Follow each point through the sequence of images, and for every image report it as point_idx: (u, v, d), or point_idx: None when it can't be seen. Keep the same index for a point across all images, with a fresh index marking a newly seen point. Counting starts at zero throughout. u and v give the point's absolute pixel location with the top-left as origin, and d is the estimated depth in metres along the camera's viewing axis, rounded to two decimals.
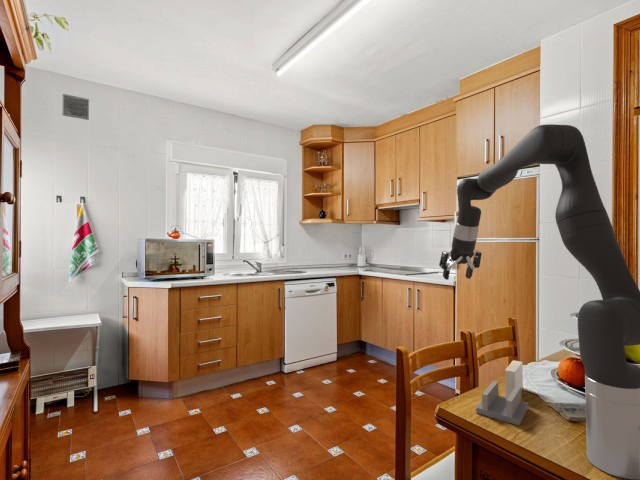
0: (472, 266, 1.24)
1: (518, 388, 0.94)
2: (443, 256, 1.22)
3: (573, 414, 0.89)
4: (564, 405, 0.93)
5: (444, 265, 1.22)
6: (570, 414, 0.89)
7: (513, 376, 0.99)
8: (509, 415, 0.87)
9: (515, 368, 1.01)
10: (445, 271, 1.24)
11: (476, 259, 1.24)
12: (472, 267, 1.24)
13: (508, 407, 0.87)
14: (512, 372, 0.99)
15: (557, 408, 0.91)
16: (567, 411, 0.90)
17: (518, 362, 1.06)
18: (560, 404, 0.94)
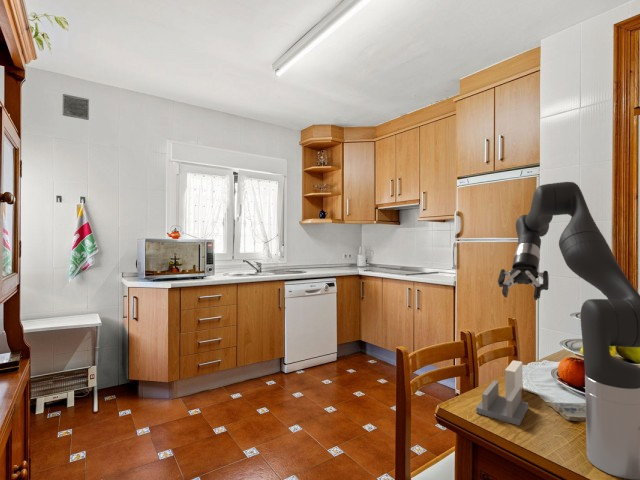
0: (537, 283, 1.11)
1: (518, 388, 0.94)
2: None
3: (573, 414, 0.89)
4: (564, 405, 0.93)
5: (500, 279, 1.18)
6: (570, 414, 0.89)
7: (513, 376, 0.99)
8: (509, 415, 0.87)
9: (515, 368, 1.01)
10: (502, 286, 1.16)
11: (543, 278, 1.11)
12: (537, 284, 1.10)
13: (508, 407, 0.87)
14: (512, 372, 0.99)
15: (557, 408, 0.91)
16: (567, 411, 0.90)
17: (518, 362, 1.06)
18: (560, 404, 0.94)
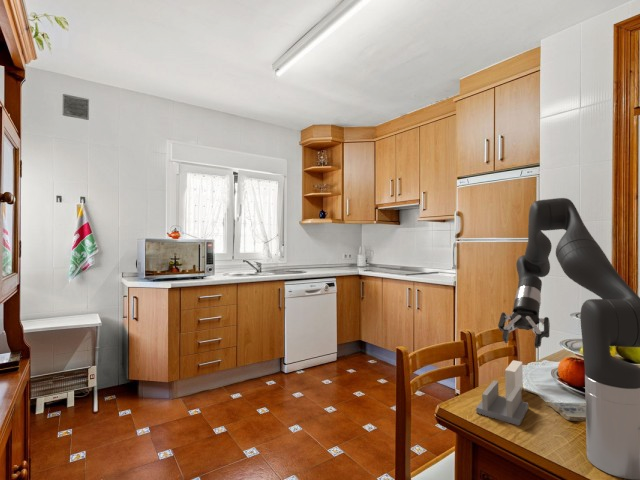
0: (537, 330, 1.10)
1: (518, 388, 0.94)
2: None
3: (573, 414, 0.89)
4: (563, 405, 0.93)
5: (500, 323, 1.17)
6: (570, 414, 0.89)
7: (513, 376, 0.99)
8: (509, 415, 0.87)
9: (515, 368, 1.01)
10: (503, 331, 1.15)
11: (544, 325, 1.10)
12: (538, 331, 1.09)
13: (508, 407, 0.87)
14: (512, 372, 0.99)
15: (557, 408, 0.91)
16: (567, 411, 0.90)
17: (518, 362, 1.06)
18: (559, 404, 0.94)
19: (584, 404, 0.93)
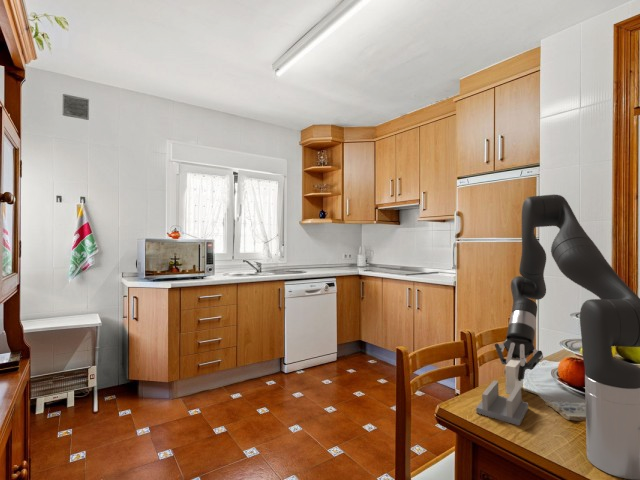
0: (522, 362, 1.04)
1: (518, 388, 0.94)
2: (496, 349, 1.11)
3: (573, 413, 0.89)
4: (563, 404, 0.94)
5: (501, 356, 1.08)
6: (570, 413, 0.89)
7: (514, 372, 0.99)
8: (509, 415, 0.87)
9: (515, 364, 1.02)
10: None
11: None
12: (521, 363, 1.04)
13: (508, 407, 0.87)
14: (512, 367, 1.00)
15: (557, 407, 0.91)
16: (566, 410, 0.90)
17: (518, 359, 1.06)
18: (559, 404, 0.94)
19: (583, 404, 0.93)
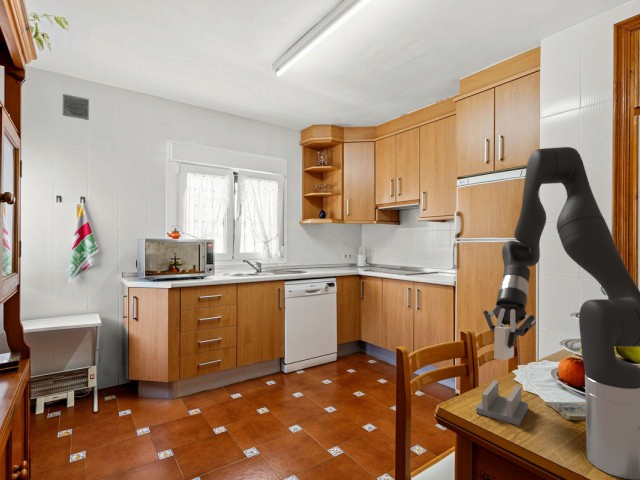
0: (513, 327, 0.95)
1: (518, 388, 0.94)
2: (485, 317, 1.02)
3: (572, 413, 0.89)
4: (562, 404, 0.94)
5: (489, 322, 0.99)
6: (569, 413, 0.89)
7: (503, 334, 0.91)
8: (509, 415, 0.87)
9: (506, 328, 0.93)
10: None
11: None
12: (511, 328, 0.95)
13: (508, 407, 0.87)
14: (502, 329, 0.91)
15: (557, 407, 0.91)
16: (566, 410, 0.90)
17: None
18: (558, 403, 0.94)
19: (583, 403, 0.93)
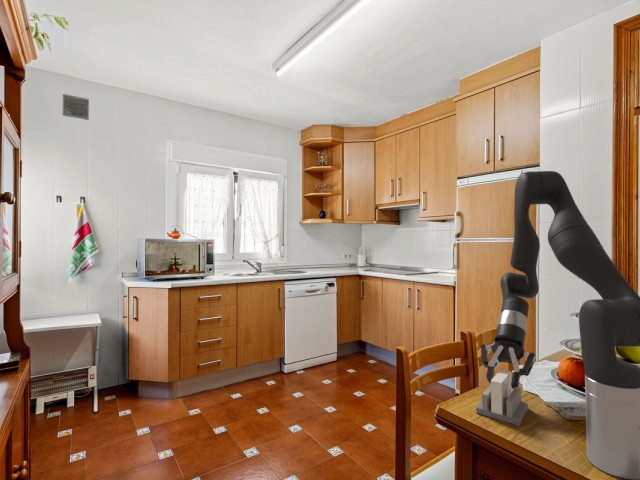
0: (516, 367, 0.93)
1: (518, 388, 0.94)
2: None
3: (572, 413, 0.89)
4: (562, 404, 0.94)
5: (483, 358, 0.98)
6: (569, 413, 0.89)
7: (500, 388, 0.88)
8: (509, 415, 0.87)
9: (502, 378, 0.90)
10: None
11: None
12: (515, 368, 0.92)
13: (508, 407, 0.87)
14: (498, 383, 0.88)
15: (556, 407, 0.91)
16: (566, 410, 0.90)
17: (506, 372, 0.95)
18: (558, 403, 0.94)
19: (582, 403, 0.94)
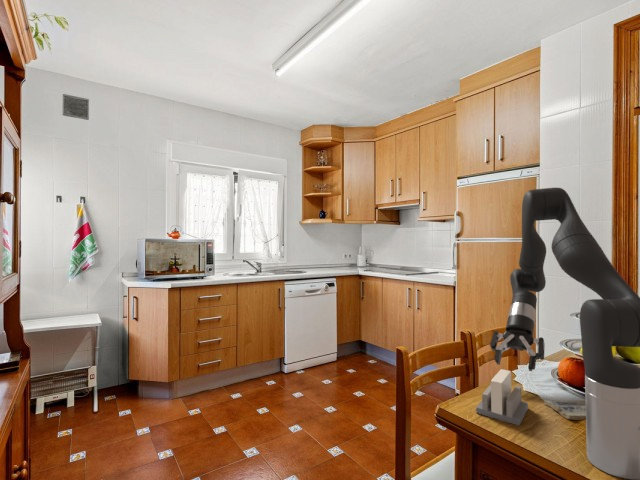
0: (532, 351, 1.03)
1: (518, 388, 0.94)
2: None
3: (572, 413, 0.90)
4: (561, 404, 0.94)
5: (492, 342, 1.10)
6: (569, 413, 0.89)
7: (500, 388, 0.88)
8: (509, 415, 0.87)
9: (502, 378, 0.90)
10: (495, 352, 1.08)
11: None
12: (532, 353, 1.02)
13: (508, 407, 0.87)
14: (498, 383, 0.88)
15: (556, 407, 0.91)
16: (566, 410, 0.90)
17: (506, 372, 0.95)
18: (557, 403, 0.95)
19: (581, 402, 0.94)
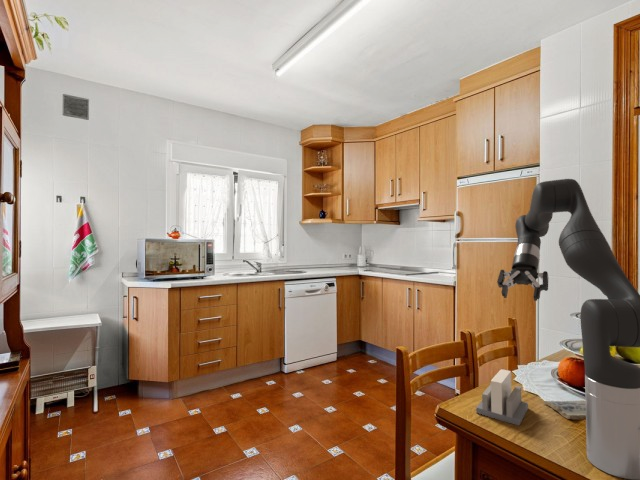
0: (536, 283, 1.10)
1: (518, 388, 0.94)
2: None
3: (572, 412, 0.90)
4: (561, 403, 0.94)
5: (499, 279, 1.17)
6: (569, 412, 0.89)
7: (500, 388, 0.88)
8: (509, 415, 0.87)
9: (502, 378, 0.90)
10: (502, 287, 1.16)
11: (543, 279, 1.11)
12: (536, 284, 1.10)
13: (508, 407, 0.87)
14: (498, 383, 0.88)
15: (556, 407, 0.91)
16: (566, 409, 0.90)
17: (506, 372, 0.95)
18: (557, 402, 0.95)
19: (580, 402, 0.94)
